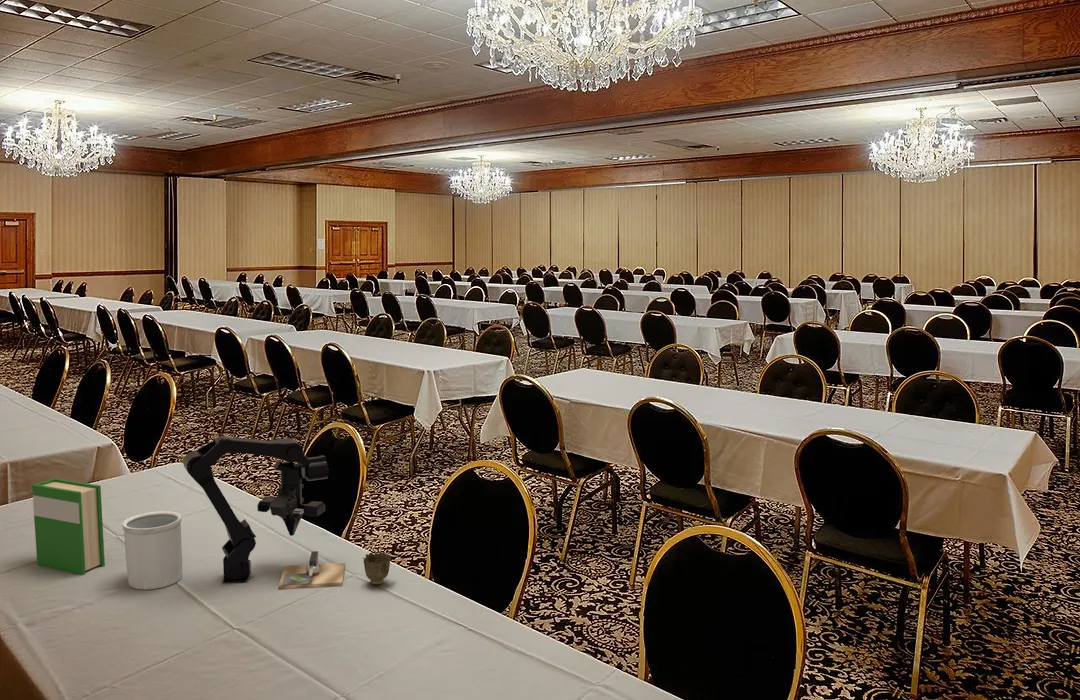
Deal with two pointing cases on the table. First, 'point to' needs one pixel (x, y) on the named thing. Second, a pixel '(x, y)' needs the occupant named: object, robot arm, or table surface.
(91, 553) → the hardback book
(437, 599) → the table surface
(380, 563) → the cup
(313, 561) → the peg knob
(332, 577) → the tuner board
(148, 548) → the utensil holder
